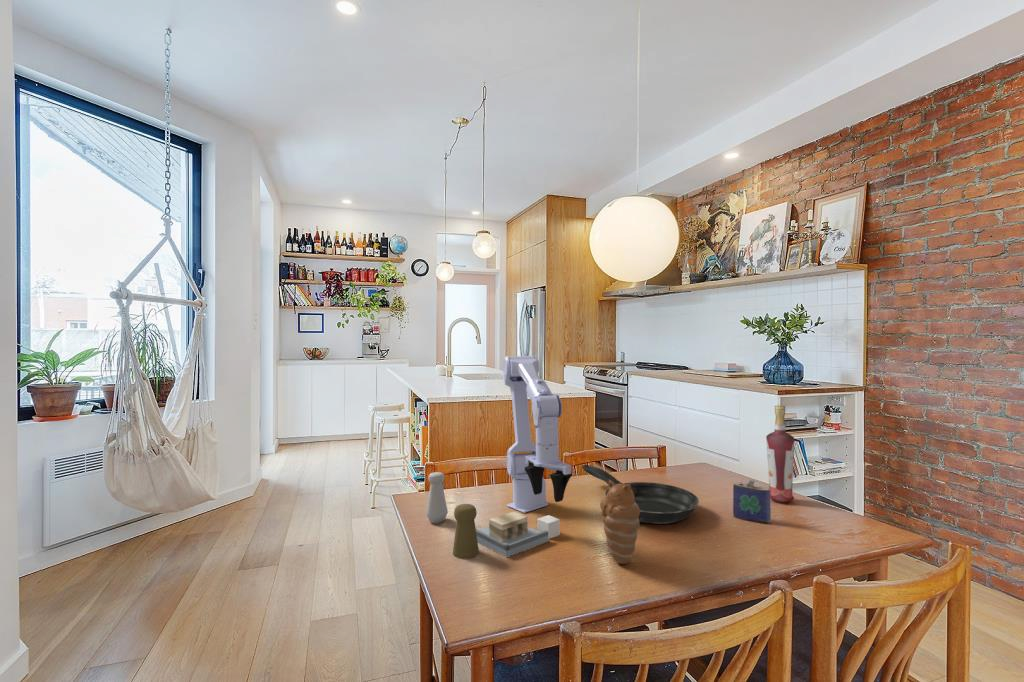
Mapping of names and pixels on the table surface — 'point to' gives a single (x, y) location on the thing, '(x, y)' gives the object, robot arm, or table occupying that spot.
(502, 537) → the block
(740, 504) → the flask
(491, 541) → the dock
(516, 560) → the table surface
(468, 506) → the pepper shaker
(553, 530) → the white cube
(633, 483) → the frying pan
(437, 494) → the salt shaker
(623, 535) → the cat ice cream
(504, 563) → the table surface
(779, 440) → the liquor
